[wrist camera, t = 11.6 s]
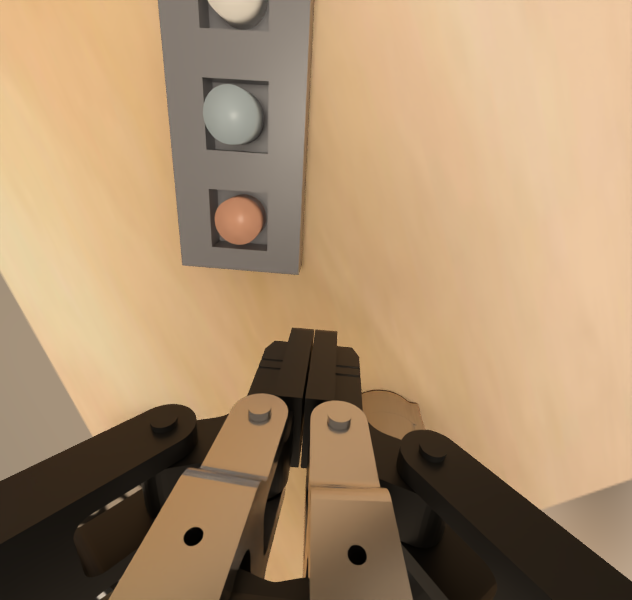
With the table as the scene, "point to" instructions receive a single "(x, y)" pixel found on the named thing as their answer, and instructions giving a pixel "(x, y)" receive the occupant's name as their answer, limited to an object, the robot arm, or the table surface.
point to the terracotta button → (240, 219)
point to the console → (245, 159)
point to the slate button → (232, 115)
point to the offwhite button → (240, 11)
